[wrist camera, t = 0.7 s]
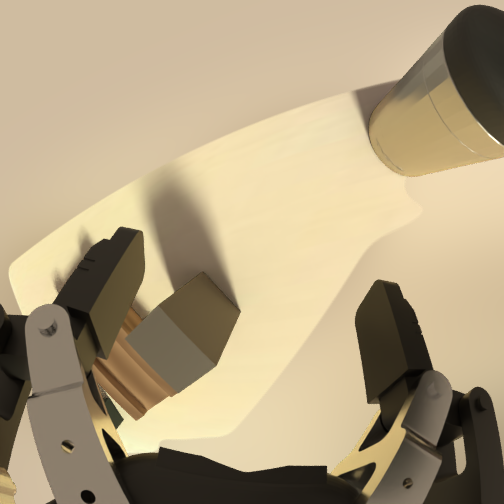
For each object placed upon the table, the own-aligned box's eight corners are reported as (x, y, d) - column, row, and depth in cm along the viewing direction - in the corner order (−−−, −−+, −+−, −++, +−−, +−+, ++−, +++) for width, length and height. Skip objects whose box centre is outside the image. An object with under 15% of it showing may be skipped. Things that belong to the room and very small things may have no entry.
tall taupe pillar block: (203, 271, 31) (157, 305, 20) (240, 311, 32) (216, 365, 20) (175, 297, 32) (123, 339, 20) (211, 335, 32) (177, 393, 21)
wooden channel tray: (96, 264, 33) (76, 270, 29) (192, 371, 33) (181, 389, 29) (64, 309, 35) (45, 318, 30) (148, 403, 35) (136, 420, 31)
